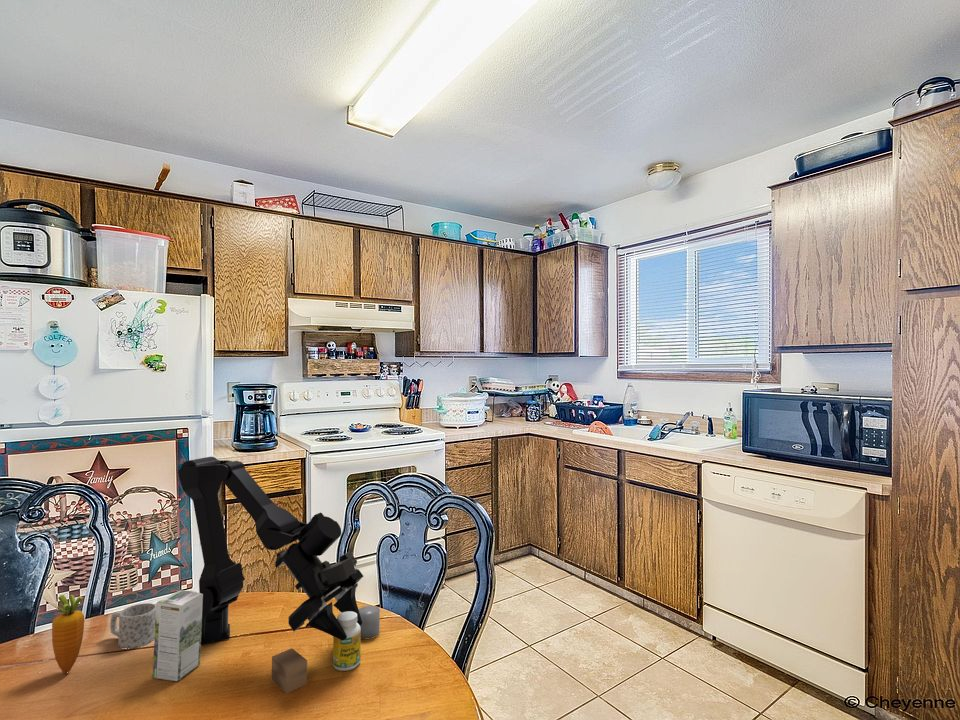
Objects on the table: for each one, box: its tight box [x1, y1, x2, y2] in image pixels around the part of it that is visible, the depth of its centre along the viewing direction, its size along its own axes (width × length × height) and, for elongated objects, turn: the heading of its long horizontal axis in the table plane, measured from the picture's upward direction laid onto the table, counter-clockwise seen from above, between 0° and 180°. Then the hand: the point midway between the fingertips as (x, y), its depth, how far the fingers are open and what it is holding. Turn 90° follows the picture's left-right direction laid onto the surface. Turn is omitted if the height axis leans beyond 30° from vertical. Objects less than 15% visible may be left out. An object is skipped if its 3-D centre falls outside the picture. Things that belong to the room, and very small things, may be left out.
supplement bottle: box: [332, 611, 361, 672], centre depth 100 cm, size 5×5×10 cm
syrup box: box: [152, 589, 203, 682], centre depth 97 cm, size 6×6×14 cm
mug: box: [109, 602, 156, 650], centre depth 108 cm, size 10×7×7 cm, turn 80°
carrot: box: [51, 594, 85, 674], centre depth 96 cm, size 5×5×15 cm
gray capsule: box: [358, 605, 381, 639], centre depth 112 cm, size 5×5×5 cm
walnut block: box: [270, 647, 308, 695], centre depth 94 cm, size 6×4×4 cm, turn 47°
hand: (353, 631), depth 99 cm, fingers closed on supplement bottle, 5 cm apart
